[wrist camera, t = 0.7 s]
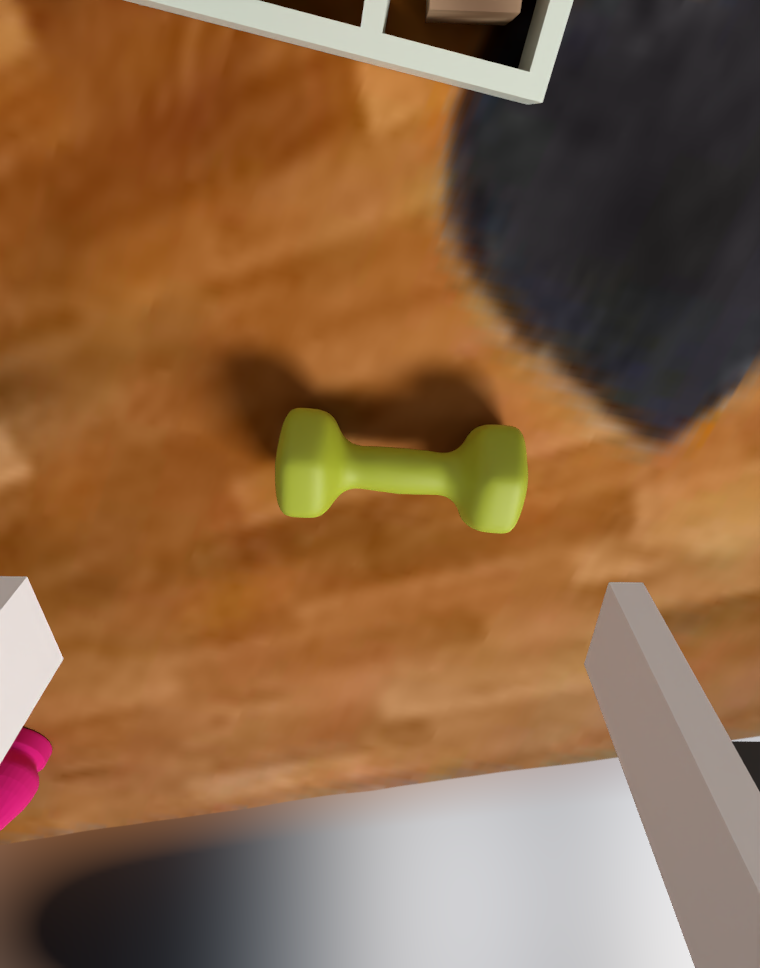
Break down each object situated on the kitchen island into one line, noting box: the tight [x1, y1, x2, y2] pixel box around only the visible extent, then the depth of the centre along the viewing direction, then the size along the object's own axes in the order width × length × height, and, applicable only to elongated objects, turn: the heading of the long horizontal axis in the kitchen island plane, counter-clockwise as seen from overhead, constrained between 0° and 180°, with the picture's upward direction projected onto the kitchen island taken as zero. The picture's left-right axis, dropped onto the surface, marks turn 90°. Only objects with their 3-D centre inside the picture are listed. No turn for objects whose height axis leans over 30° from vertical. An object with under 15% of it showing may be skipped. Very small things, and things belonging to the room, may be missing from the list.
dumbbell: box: [275, 408, 528, 533], centre depth 38 cm, size 16×8×7 cm, turn 84°
